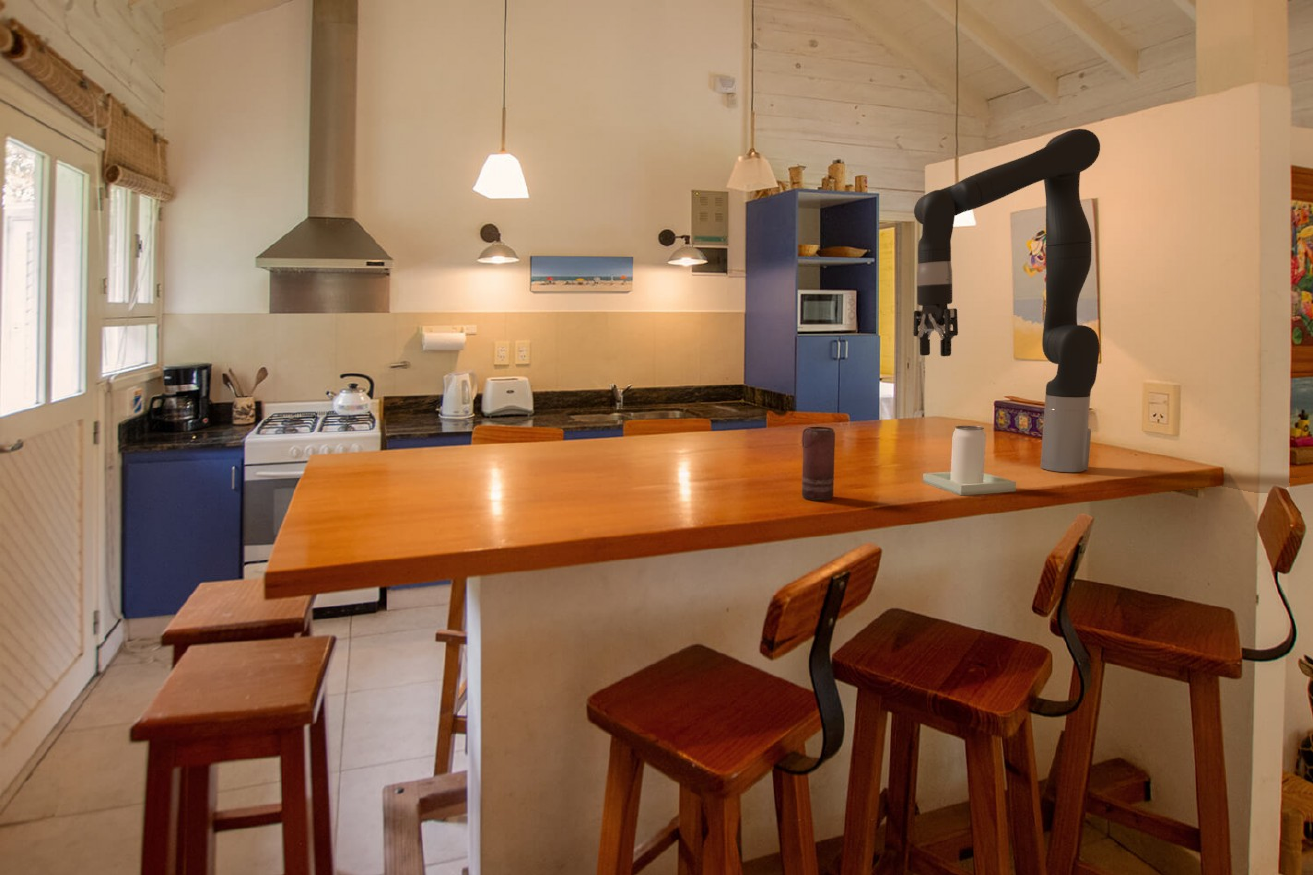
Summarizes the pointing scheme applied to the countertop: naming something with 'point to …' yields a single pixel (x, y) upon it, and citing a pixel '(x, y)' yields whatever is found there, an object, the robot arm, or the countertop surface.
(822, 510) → the countertop surface
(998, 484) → the tray
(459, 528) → the countertop surface
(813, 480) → the can
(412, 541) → the countertop surface
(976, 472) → the can
